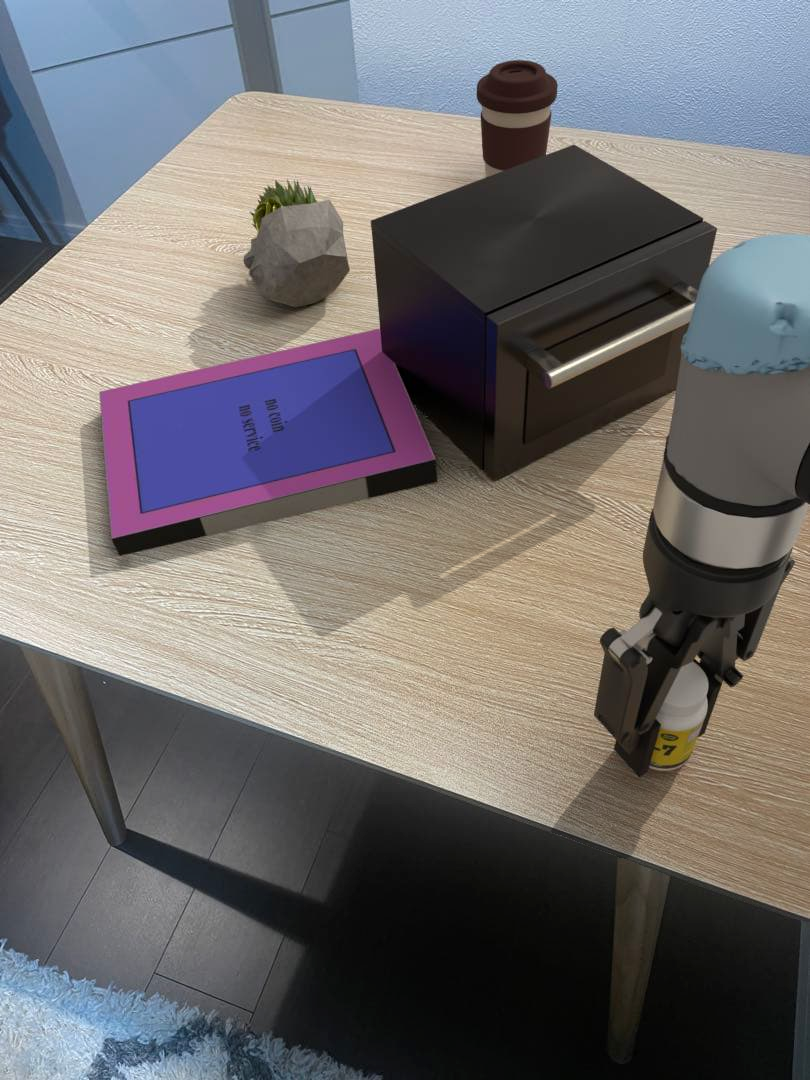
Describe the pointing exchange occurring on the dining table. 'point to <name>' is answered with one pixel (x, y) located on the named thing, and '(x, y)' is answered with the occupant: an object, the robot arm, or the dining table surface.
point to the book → (258, 441)
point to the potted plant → (296, 247)
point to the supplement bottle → (681, 718)
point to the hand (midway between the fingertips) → (659, 740)
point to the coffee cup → (515, 114)
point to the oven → (498, 268)
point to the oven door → (589, 349)
